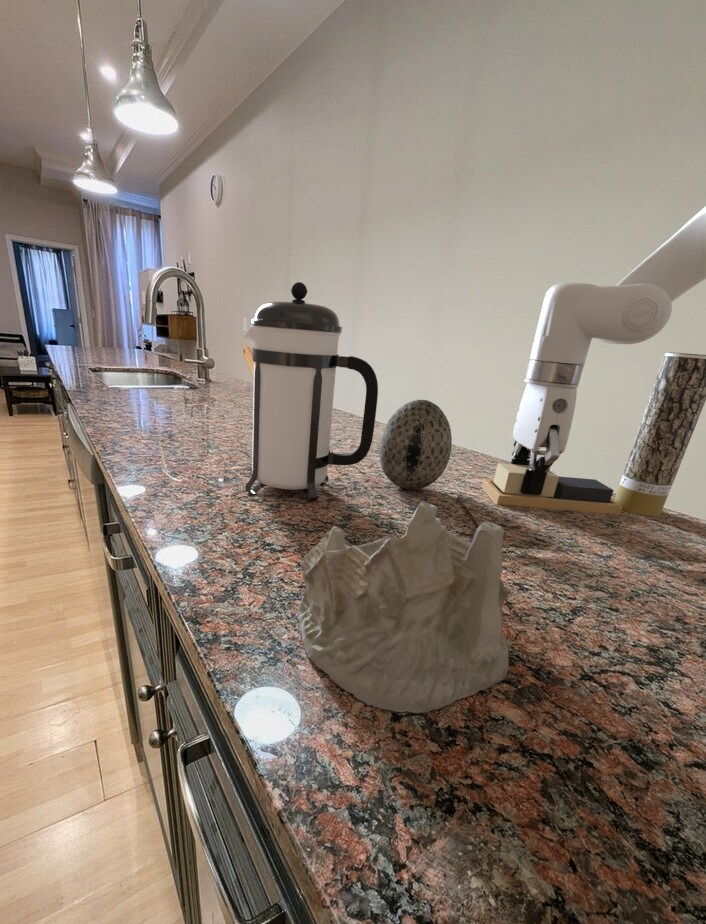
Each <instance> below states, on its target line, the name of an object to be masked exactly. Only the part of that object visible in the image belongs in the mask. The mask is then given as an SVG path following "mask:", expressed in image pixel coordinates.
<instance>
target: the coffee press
mask: <svg viewBox="0 0 706 924" xmlns="http://www.w3.org/2000/svg"><path fill="white" fill-rule="evenodd" d="M290 292H291V296H292V297H293V299H292V300H291V301H270V302H267V303H264V304H262V305H261V306H260V307H259V308H258V309H257V310H256V313H255V316H254V318H252V319H251V325H250V327H248V329H247V331H246V333H245V334H244V338H243V339H244V340H245V341H252V342H253V344H254V346H253V347H252V355H251V356H252V362H253V389H252V390H253V393H252V394H253V395H252V445H251V447H252V448H251V449H252V451H251V452H252V454H251V457H252V458H251V471H252V473H251V474H252V475H251V476H250V479H248V482H247V483H246V484H245V491H246V492H248V493H249V494H250V495H256V494H257V493H258V492H259V491H260V490H261V489H263V488H264V487H270V488H274V489H280V490H291V491H292V490H293V491H295V490H297V491H298V490H300V491H301V492H302V494H303V497H304V499H305V501H306V502H307V503H312V502H313V503H314V502H317V501H318V500H319V494H318V491H317V487H319V486H320V485H321V484H323V485H326V484H328V482H329V476H328V466H352V465H356V464H358V463H360V462H361V461H363V460H364V459H365V457H367V455H368V453H369V452H370V450H371V447H372V442H373V438H374V431H375V424H376V415H377V407H378V396H379V382H378V378H377V375H376V372H375V370H374V369H373V367H372V366H371V364H369V362H367V361H365V360H364V359H362V358H360V357H357V356H354V355H353V356H352V355H349V356H342V355H339V354H338V349H339V348H338V347H339V339H340V336H341V334H342V333H343V326H340V320H339V319H340V318H339V316H338V315H337V314H336V312H335V311H334V310H332V309H331V308H329V307H327V306H323V305H320V304H315V303H307V302H306V301H305V300H304V299H305V298H306V296H307V295H308V288H307V286H306V285H305V283H303V282H300V281H297V282H295V283H294V284H292V286H291V289H290ZM337 368H342V369H343V368H344V369H345V368H346V369H347V370H353V371H356V372H358V373H359V374H360V375H361V376H362V378H363V380H364V384H365V400H364V408H363V409H364V410H363V419H362V426H361V434H360V435H361V436H360V443H359V446H358V447H357V448H356V449H355V451H353V452H351V453H334V452H331V450H330V442H331V430H332V418H333V407H334V394H335V383H336V370H337ZM256 481H258V482H259V483H257V484H256V485H255V486H254V487H253V485H254V484H255V482H256ZM252 487H253V488H252Z"/></svg>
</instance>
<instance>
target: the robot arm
mask: <svg viewBox="0 0 706 924" xmlns="http://www.w3.org/2000/svg"><path fill="white" fill-rule="evenodd" d="M704 280H706V205H705V206H704V207H702V208H701V209H700V210H699V211H698V212H697V213H696V214H695V215H694V216H693V217H691V218H690V219H689V220H688V221H687V222H686V223H685V224H683V226H682V227H681V228H680V229H678V230H677V231H676V233H674V234H673V235H672V236H671V237H670V238H668V239H667V240H666V241H665V242H664V243H663V244H661V245H659V247H658V248H657V249H655V251H653V252H652V253H650V254H649V256H647V257H646V258H645V259H644V260H643V261H641V262H640V263H639V264H638V265H637V266H636V267H635V268H633V270H631V271H630V272H629V273H628V274H627V275H625V277H623V278H622V279H621V280H620V281H619V282H618V283H617V284H615V285H596V284H592V283H585V282H584V283H583V282H564V283H562V282H561V283H557V284H554V285H552V286H551V287H550V288H549V289H548V290H546V293H545V296H544V299H543V301H542V306H541V310H540V314H539V318H538V322H537V327H536V331H535V335H534V339H533V343H532V346H531V352H530V356H529V359H528V364H527V368H526V371H525V377H524V380H523V383H526V385H525V388H524V391H523V394H522V397H521V400H520V404H519V407H518V411H517V413H516V417H515V422H514V426H513V431H512V437H513V440H514V442H513V450H512V453H511V460H510V464H516V465H527V466H529V469H526V471H525V475H524V479H523V482H522V486H521V490H520V492H521V493H522V494H530V495H541V493H542V490H543V486H544V483H545V479H546V476H547V472H549V471H551V467H552V466H553V464H554V463H555V462H556V461H557V460H559V458H560V456H561V455H562V454H563V453H564V452H565V450H566V448H567V444H568V440H569V436H570V432H571V428H572V425H573V421H574V420H573V419H574V414H575V410H576V404H577V392H578V387H579V384H580V380H581V377H582V373H583V370H584V367H585V364H586V360H587V357H588V353H589V350H590V346H591V342H592V340H593V339H596V340H597V341H599V342H601V343H604V344H610V345H635V344H640V343H642V342H645V341H648V340H649V339H651V338H653V337H655V336H656V335H657V334H659V333H660V332H661V331H662V330H663V329H664V328H665V327H666V325H667V324H668V322H669V321H670V318H671V315H672V311H673V304H672V303H673V302H675V301H676V300H677V299H679V298H680V297H681V296H682V295H684V294H686V292H688V291H689V290H691V289H692V288H694V287H695V286H697V285H698V284H700V283H702V282H703V281H704ZM541 448H545V450H541ZM538 456H540V457H539V458H538Z"/></svg>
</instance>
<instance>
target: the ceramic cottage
mask: <svg viewBox="0 0 706 924" xmlns="http://www.w3.org/2000/svg"><path fill="white" fill-rule="evenodd" d="M437 511H438V507H437V506H436V505H434V504H432V503H427V502H424V501H420V503H419V504H418V505H417V507H416V509H415V511H414V512H413V514H412V516H411V519H410V520H409V522H408V524H407V527H406V531H405V533H404V535H402V536H401V537H395V536H394V535H393V534H392V533H390V534H388V535H386V536H383V537H381V538H379V539H376V540H375V541H369V542H367V543H363V544H359V545H355V544H352V545H351V546H350V545H348V544H346V538H345V536H346V532H344V531H343V530H342V529H341V528H340V527H339V526H333V527H332V528H331V529H330V530H329V531H327V532H326V533H325V535H324V537H322V538H320V540H319V542H318V543H316V545H314V546H313V548H310V549H309V551H308V552H307V553H306V554H305V555H304V556H303V557H302V559H301V560H300V563H299V566H300V568H301V569H302V571H303V579H304V594H303V596H302V597H301V600H300V602H299V604H298V608H297V616H296V617H297V620H298V624H299V625H298V628H299V631H300V632H301V642H302V647H303V649H304V650H305V653H306V655H307V657H308V658H309V660H311V662H312V663H314V665H315V666H316V667H318V670H321V671H322V672H324V673H325V674H327V675H328V677H329V679H330V681H333V682H334V684H336V685H338V686H339V687H340V688H341V689H342V690H344V691H345V692H346V693H349V694H352V695H353V698H356V699H357V700H358V701H361V702H363V703H365V705H366V706H372V707H374V708H378V709H381V710H387V711H392V712H395V713H396V712H398V713H404V712H409V713H412V714H423V713H429V712H431V711H433V710H436V711H438V710H439V709H441V708H443V707H444V706H445V707H446V706H450V705H452V704H453V703H454V702H455V701H457V700H458V701H460V700H461V699H466V698H468V697H470V696H474V695H475V694H477V693H478V692H479V691H484V690H487V689H489V688H492V687H494V685H496V684H498V683H501V682H502V681H503V680H504V679H505V678H506V677H507V673H508V671H509V670H510V664H509V663H510V662H509V661H510V660H509V655H510V652H509V647H508V642H507V641H508V640H507V637H506V635H505V634H504V632H503V630H502V629H503V617H504V615H505V614H504V611H503V609H502V608H503V603H504V602H505V601H506V600H507V599H508V598H509V597H511V596H512V595H511V594H510V593H508V590H507V589H506V588H505V585H504V581H503V580H502V579H501V577H502V573H503V558H502V557H503V555H502V553H503V552H502V551H503V545H504V535H505V529H504V528H503V527H502V526H500V525H499V524H496V523H494V522H492V521H483V522H482V523H481V524H480V525H479V526H478V527H477V528H476V530H475V532H474V535H473V538H472V540H471V541H468V540H465V539H464V538H462V537H460V536H457V535H455V534H454V533H452V532H450V531H448V530H447V527H446V525H442V520H440V519H439V518H438V517H437Z"/></svg>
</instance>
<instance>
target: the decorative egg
mask: <svg viewBox="0 0 706 924" xmlns="http://www.w3.org/2000/svg"><path fill="white" fill-rule="evenodd" d="M452 445H453V438H452V430H451V425H450V422H449V420H448V418H447V416H446V415H445V413H444V411H443V410H442V409H441V408H440V407H439V406H438V405H437V404H435V403H434V402H432V401H430V400H427V399H415V400H412V401H409V402H407V403H405V404H403V405H401V407H399V408H398V409H397V410H395V412H393V414H392V415H391V416H390V418H389V419H388V421H387V423H386V425H385V427H384V429H383V432H382V435H381V437H380V442H379V447H378V456H379V463H380V467H381V470H382V472H383V473H384V475H385V477H386V478H387V479H388V480H389V481H390V482H391V483H392V484H394V485H395V486H397V487H399V488H401V489H404V490H411V491H413V490H421V489H425V488H426V487H429V486H431V485H432V484H433V483H435V482H437V480H438V479H439V478H440V477H441V476H442V475H443V474H444V472H445V470H446V468H447V466H448V464H449V461H450V458H451V453H452Z"/></svg>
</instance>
